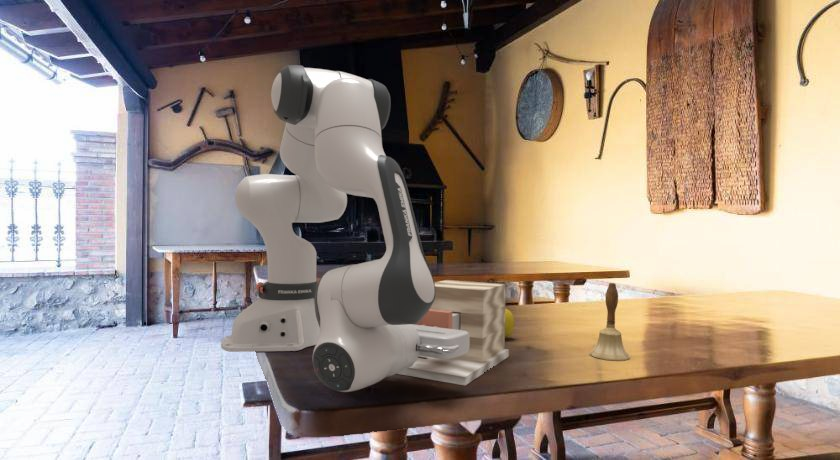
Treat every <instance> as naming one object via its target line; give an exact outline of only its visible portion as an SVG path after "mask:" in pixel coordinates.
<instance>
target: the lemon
mask: <svg viewBox="0 0 840 460" xmlns="http://www.w3.org/2000/svg"><path fill="white" fill-rule="evenodd" d="M514 329H515V317H514V314H513V313H512V311H510V309H508V308H506V307H505V338H507V337H509V336H510V335H511V334H512V333H513V332H514Z"/></svg>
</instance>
